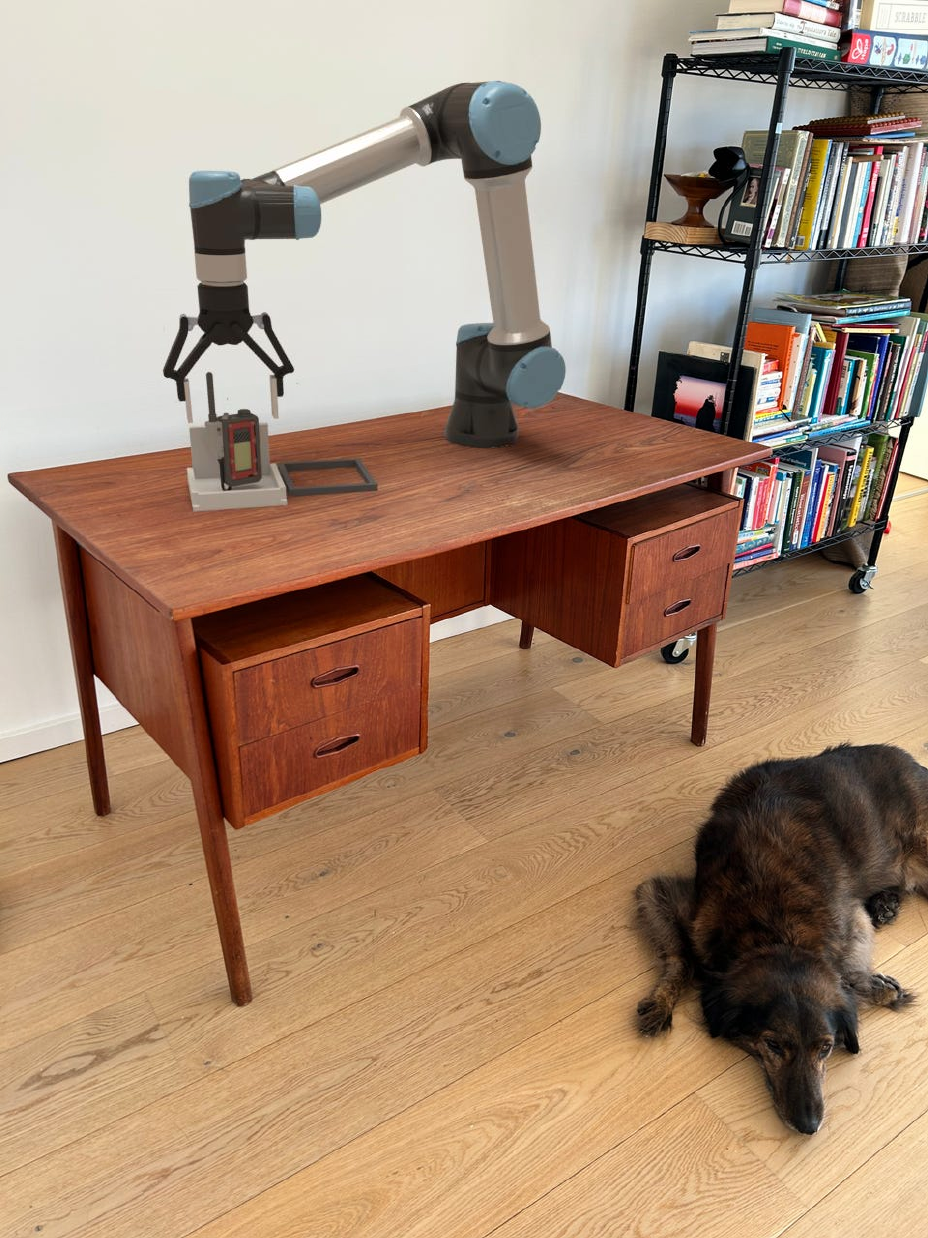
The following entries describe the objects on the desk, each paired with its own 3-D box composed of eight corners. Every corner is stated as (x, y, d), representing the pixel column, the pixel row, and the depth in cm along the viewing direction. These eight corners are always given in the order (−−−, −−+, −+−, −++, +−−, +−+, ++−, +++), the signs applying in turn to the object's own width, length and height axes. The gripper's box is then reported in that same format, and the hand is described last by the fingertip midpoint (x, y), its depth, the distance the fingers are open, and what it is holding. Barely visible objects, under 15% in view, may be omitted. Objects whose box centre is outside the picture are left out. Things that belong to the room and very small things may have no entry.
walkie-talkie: (215, 497, 158) (206, 374, 150) (204, 489, 162) (194, 368, 153) (264, 488, 163) (257, 368, 154) (252, 480, 166) (245, 363, 158)
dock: (275, 477, 172) (272, 422, 167) (287, 506, 159) (285, 447, 154) (188, 482, 167) (182, 426, 163) (193, 512, 155) (188, 452, 150)
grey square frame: (359, 466, 180) (359, 458, 179) (377, 492, 167) (377, 484, 166) (277, 470, 175) (277, 462, 175) (290, 498, 163) (289, 489, 162)
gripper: (300, 277, 154) (305, 408, 164) (136, 279, 147) (152, 416, 157) (307, 284, 148) (313, 420, 158) (137, 286, 141) (154, 429, 151)
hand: (233, 418), depth 157 cm, fingers open, 13 cm apart
